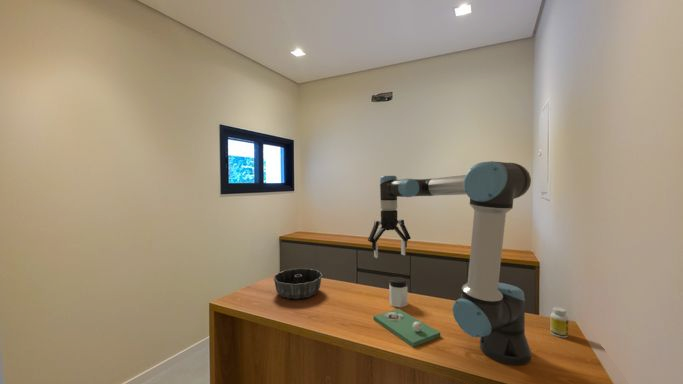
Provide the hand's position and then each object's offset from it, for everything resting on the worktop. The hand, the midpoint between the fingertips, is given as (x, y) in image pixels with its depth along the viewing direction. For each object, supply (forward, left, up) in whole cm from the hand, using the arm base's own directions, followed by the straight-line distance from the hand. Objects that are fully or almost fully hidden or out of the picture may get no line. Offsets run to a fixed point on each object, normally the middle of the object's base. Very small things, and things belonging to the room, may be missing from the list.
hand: (389, 256), depth 127 cm
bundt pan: (+44, +28, -26) cm, 58 cm away
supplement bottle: (-48, -43, -26) cm, 69 cm away
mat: (-14, +4, -26) cm, 30 cm away
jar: (+5, -9, -26) cm, 28 cm away
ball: (-21, +4, -22) cm, 31 cm away
